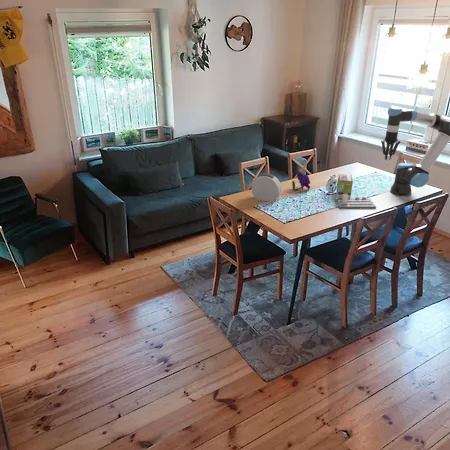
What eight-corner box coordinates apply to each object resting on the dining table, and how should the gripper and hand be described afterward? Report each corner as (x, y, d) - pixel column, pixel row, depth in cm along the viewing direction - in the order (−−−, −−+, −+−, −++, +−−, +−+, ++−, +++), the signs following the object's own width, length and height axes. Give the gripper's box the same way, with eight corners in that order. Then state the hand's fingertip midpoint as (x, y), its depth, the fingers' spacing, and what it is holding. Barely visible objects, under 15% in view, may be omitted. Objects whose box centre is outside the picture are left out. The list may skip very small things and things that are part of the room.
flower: (302, 199, 330) (314, 189, 333) (297, 185, 321) (309, 174, 324) (290, 194, 341) (301, 183, 344) (284, 180, 332) (296, 169, 335)
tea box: (350, 199, 317) (353, 181, 310) (336, 198, 319) (339, 180, 312) (349, 192, 330) (351, 174, 324) (336, 191, 332) (338, 173, 325)
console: (369, 200, 315) (370, 196, 313) (375, 208, 301) (376, 204, 300) (334, 200, 315) (335, 196, 314) (339, 208, 301) (339, 204, 300)
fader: (346, 201, 309) (347, 192, 306) (347, 203, 306) (348, 194, 303) (341, 201, 309) (343, 192, 306) (342, 203, 306) (344, 194, 303)
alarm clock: (281, 199, 318) (282, 174, 309) (277, 203, 312) (279, 177, 303) (254, 195, 326) (255, 170, 317) (251, 198, 320) (251, 173, 311)
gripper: (399, 129, 291) (394, 162, 302) (381, 129, 292) (375, 162, 302) (403, 132, 285) (397, 165, 295) (384, 132, 285) (379, 165, 295)
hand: (386, 164), depth 298 cm, fingers closed
